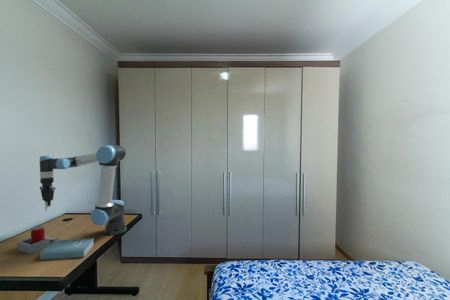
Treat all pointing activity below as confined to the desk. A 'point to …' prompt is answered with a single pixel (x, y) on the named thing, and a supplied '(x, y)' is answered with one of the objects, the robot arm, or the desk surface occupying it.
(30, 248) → the tray
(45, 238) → the gate bar
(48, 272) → the desk surface
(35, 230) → the beverage can
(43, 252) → the book
